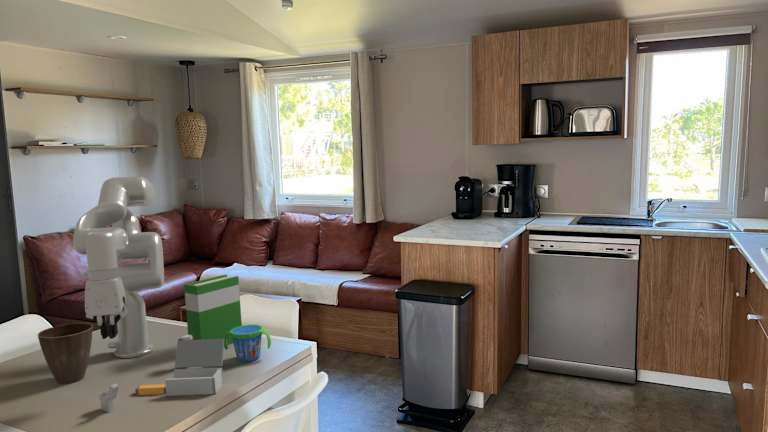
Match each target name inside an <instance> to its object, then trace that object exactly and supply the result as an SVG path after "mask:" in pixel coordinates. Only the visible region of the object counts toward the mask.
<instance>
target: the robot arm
mask: <svg viewBox="0 0 768 432" xmlns="http://www.w3.org/2000/svg"><path fill="white" fill-rule="evenodd" d="M155 197H156V192H155V188H154V186H153V184H152V182H150V181H149V180H148V179H147V178H146V177H144V176H121V177H120V176H119V177H118V176H117V177H110V178H108V179H106V180H104V181H103V183H102V186H101V189H100V193H99V198H98V202H97V205H96V206H94V207H93V208H91V209H90V210H88V211H87V212H85V213H83V215H81V217H80V218H78V221H77V222H76V226H75V229H74V233H73V237H72V238H73V240H72V245H73V248H74V250H75V252H76V253H78V254H80V255H85V256H86V259H87V260H86V261H87V268H88V269H87V271H85V270H84V273H83V274H84V277H88V280H86V281H85V282H86V283H85V286H84V287H85V289H84V311H85V317H86V318H87V319H91V320H93V321H95V322H96V323H97V325H98V327H99V328H100V335H101V338H102V340H105V339H107V338H109V339H110V341H108V343H107V347H108V349H115V351H114V356H115V357H117V358H119V359H130V358H131V359H132V358H137V357H141V356H145V355H147V354H150V353H151V352H152V351H154V344H152V343H149V335H148V326H147V325H148V324H147V312H146V311H147V310H146V303H145V300H144V298H143V297H142V296H141V295H140V294H139V293H138V292H139V291H145V290H146V291H147V290H155V289H160V288H161V287H163V286H164V283H165V267H164V266H165V265H164V249H163V248H164V247H163V242H162V241H163V240H162V238H161V236H160V234H159V233H158V232H155V231H146V232H145V231H143V232H140V228H139V227H140V225H139V218H138V216H137V215H136V214H135V213H134V212H133V211H132V210H131V209H130V208H132V207H147V206H151V205H152V204H153V203H154V202H155V199H156V198H155ZM129 207H130V208H129ZM110 226H111V227H110ZM118 260H119V261H136V260H137V261H138V260H139V261H140V260H148V262H139V263H137V262H134V263H124V264H119V265H118ZM107 316H109V322H107ZM116 337H117V341H115V340H112V339H114V338H116ZM111 340H112V341H111Z"/></svg>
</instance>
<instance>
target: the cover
mask: <svg viewBox="0 0 768 432" xmlns="http://www.w3.org/2000/svg"><path fill="white" fill-rule="evenodd" d="M224 350H225V348H224V339H202V340H179V339H177V345H176V353H175V361H174V362H175V363H174V368H175V369H184V368H183V367H186V368H208V367H222V366H223V363H224V361H223V360H224Z"/></svg>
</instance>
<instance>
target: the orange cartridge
mask: <svg viewBox="0 0 768 432" xmlns="http://www.w3.org/2000/svg"><path fill="white" fill-rule="evenodd" d="M165 394H166V383H161V384H159V383H157V384H155V383H154V384H141V385H140V386H137V387H136V388H135V395H137V396H138V395H139V396H144V395H145V396H146V395H147V396H149V395H165Z"/></svg>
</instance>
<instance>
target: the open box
mask: <svg viewBox="0 0 768 432" xmlns="http://www.w3.org/2000/svg"><path fill="white" fill-rule="evenodd" d="M223 372H224V371H223V367H222V366H216V367H192V368H175V369H174V370H173V376H174V378H166V379H165V382H164V384H166V397H174V396H175V397H176V396H196V395H197V396H199V395H200V396H201V395H216V394H217V393H218V392H219V390H220V389H221V388H222V386H223V384H224V377H223V376H224V375H223V374H224V373H223Z"/></svg>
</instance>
